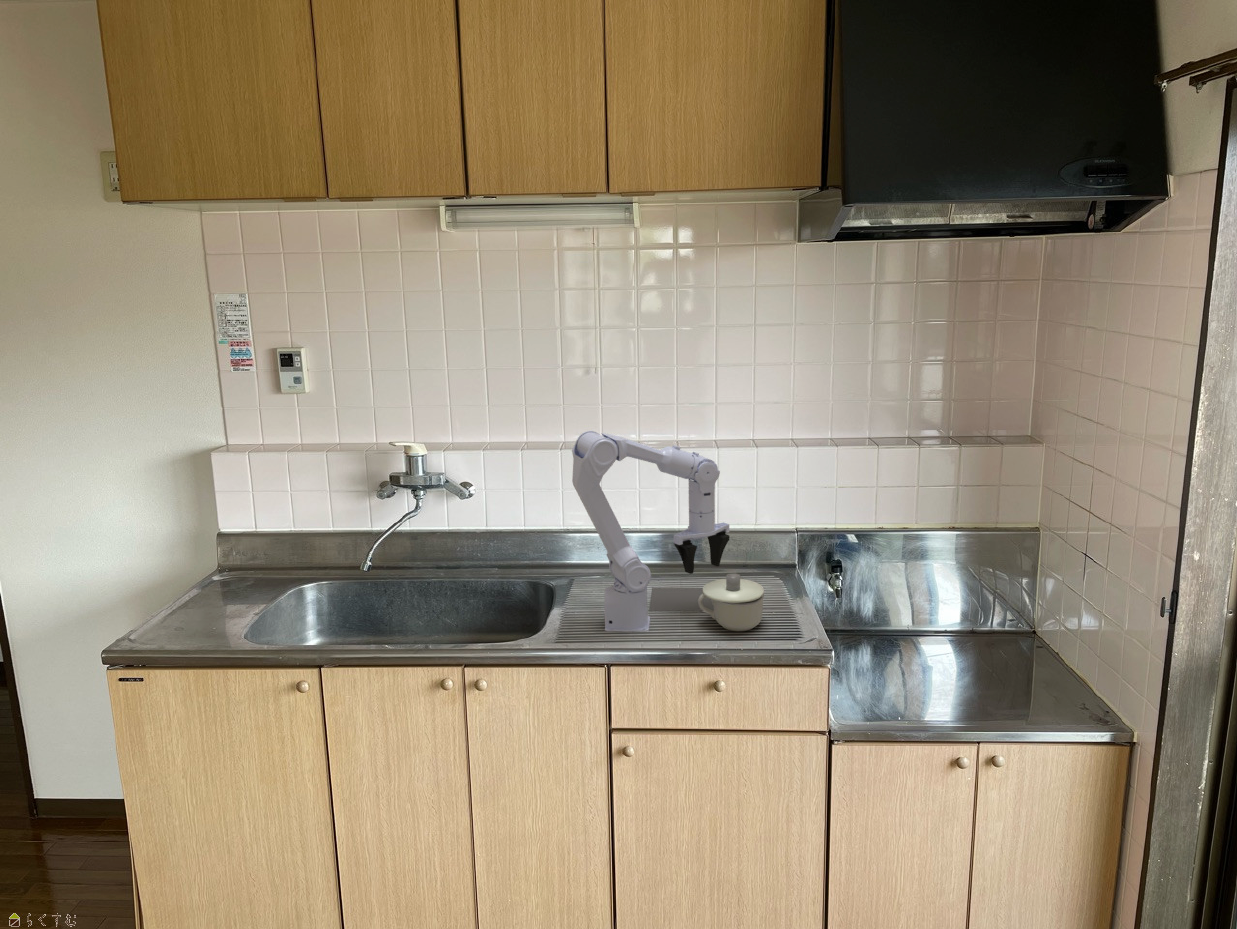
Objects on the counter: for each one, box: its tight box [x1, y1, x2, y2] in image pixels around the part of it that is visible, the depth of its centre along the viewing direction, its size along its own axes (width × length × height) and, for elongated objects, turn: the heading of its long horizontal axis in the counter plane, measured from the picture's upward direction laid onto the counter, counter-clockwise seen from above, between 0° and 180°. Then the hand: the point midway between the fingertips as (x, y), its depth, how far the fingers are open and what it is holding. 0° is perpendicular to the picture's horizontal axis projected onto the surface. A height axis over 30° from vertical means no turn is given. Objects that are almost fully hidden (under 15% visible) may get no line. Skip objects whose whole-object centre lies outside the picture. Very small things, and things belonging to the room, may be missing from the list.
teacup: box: [698, 593, 765, 632], centre depth 198 cm, size 14×11×8 cm
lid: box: [702, 572, 765, 603], centre depth 197 cm, size 13×13×4 cm
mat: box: [648, 587, 714, 612], centre depth 215 cm, size 15×15×1 cm
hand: (702, 568), depth 205 cm, fingers open, 7 cm apart
